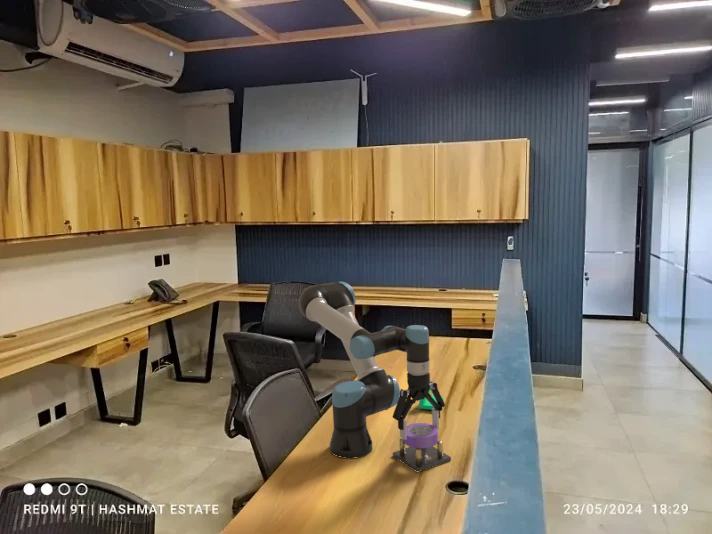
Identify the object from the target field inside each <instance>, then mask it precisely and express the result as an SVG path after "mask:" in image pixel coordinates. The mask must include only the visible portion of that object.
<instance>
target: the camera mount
mask: <svg viewBox="0 0 712 534" xmlns="http://www.w3.org/2000/svg"><path fill="white" fill-rule="evenodd" d="M428 393H429V394H430V395H431V393H432V391H431V389H430V390H429V392H428ZM431 397H432V398H433V399H434V400H435V401H436V399H435V397H434V395H433V394H432V395H431ZM441 397H442V399H443V400H444V396H442V395H441ZM436 402H437V401H436ZM418 403H419V404H418V406H419V407H418V408H419V409H421V410H431V411H432V409H433V408H434V407H433V406H432V405H431V403H430V402H429V401H428V400H427V399H426V398H425V399H421V400H419V402H418ZM434 409H435V408H434Z"/></svg>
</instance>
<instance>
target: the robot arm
mask: <svg viewBox="0 0 712 534" xmlns="http://www.w3.org/2000/svg"><path fill="white" fill-rule="evenodd" d="M356 300H357V299H356V294H355V290H354V289H353V287H352V286H351V285H350V284H349V283H347V282H345V281H332V282H329V283H328V282H327V283H322V284H321V283H320V284H314V285H310V286H308V287H306V288H305V289H303V291H302V292H301V294H300V295H299V298H298V308H299V311H300V312H301V314H302V316H304V318H306V319H307V320H309V321H310V322H316V323H317V324H319V325H321V327H323V328H325V329H326V330H328V331H329V332H330V333H331V334H333V335H334V336H336V337H337V338H338V339H340V340H341V342H342V345H343V347H344V349H345V351H346V354H347V356H348V359H349V360H350V363H351V364H352V366H353V369H354V371H355V373H356V375H357V379H356V380H347V381H343V382H341V383H339V384H337V385H336V386H335V387H334V388H333V390H332V395H331V405H332V417H333V418H332V420H333V421H332V423H333V431H332V435H331V438H330V441H329V451H331V452H332V453H333V454H335V455H337V456H341V457H346V458H345V459H354V458H353V457H358V458H362V457H364V456H366V455H368V454H371V452H372V450H373V440H372V437H371V435H370V433H369V429H368V427H367V417H369V416H372V415H375V414H378V413H380V412H383V411H388V410H389V409H391V408H394V407H395V408H394V411H393V414H392V418H393V419H394V420H396V421H397V425H398V426H397V429H398V430H399V436H400V439H401V438H403V439H404V440H406V439H407V429H406V426H407V420H406V417H407V415H408V414H409V412H410V410H411V409H412V406H413V405H414V404H416V402H418V401H419V402H420V400H421V399H425V398H426V399H427V400H428V401H429V402H430V403H431V405H432V406H433V407H434V408H435V409H434V408H433V409H432V410H431V418H432V419H431V420H432V422H431V423H432V424H431V425H433V426H435V427H436V428H437V430H440V419H441V412H442V411H443V408H445V407H446V403H445V401H444V398H443V399H442V397H443V396H442V395H441V393H440V391H439V388H438V384H437V383H436V382H435V381H432V380H431V373H430V370H431V367H430V363H431V362H430V335H429V334H430V333H429V331H430V330H429V328H428V327H427V326H425V325H422V324H421V325H420V324H419V325H418V324H414V325H413V324H412V325H408V326H407V327H406V328H402V327H398V326H396V325H386V326H384V327H383V328H382V329H381V330H380V331H376V332H369V331H368V330H367V329H365V328H364V327H362V326H360V325H359V322H358V320H357V319H356V316H355V313H354V311H355V305H356ZM394 351H400V352H404V353H406V373H407V374H406V377H407V379H406V381H407V385H408V386H407V389H404V388H401V389H400V385H399V382H398V380H397V378H396V377H395V376H393V375H391V374H387V372H386V370H385V369H384V368H383V367H380V366H379V365H378V362H377V361H376V359H375V357H377V356H380V355H382V354H383V355H384V354H387V353H391V352H394ZM430 389H431V393H430V394H429V393H428V392H429V390H430ZM431 394H432V395H433V396H434V397H435V399H436V401H437V402H436V401H435V400H434V399H433V398H432V397H431ZM441 396H442V397H441ZM331 452H330V453H331ZM332 453H331V454H332ZM333 454H332V455H333ZM337 456H336V457H337ZM361 456H362V457H361Z"/></svg>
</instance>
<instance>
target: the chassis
mask: <svg viewBox="0 0 712 534" xmlns="http://www.w3.org/2000/svg"><path fill="white" fill-rule="evenodd" d="M443 444H444V443H443V441H442V440H438V443H437V444H436V447H434V446H432V447H429V448H413V447H409V446H407V447H406V444H405V443H404V441H403V438H401V437H400V438H399V450H396V451H393V452H392V457H394V458H395V459H397V460H398V459H399V460H401V461H402V462H404V463H405V464H407V465H408V466H409V467H408V466H407V465H406V466H407V467H408V468H410V467H411V468H413V469H414V470H416V471H420V470H423V469H426V468H429V467H431V468H433V467H432V466H434V467H436V466H435V465H437V466H439V465H438V464H440V463H442V464H445V463H448V462H450V460H451V461H452V456H450V455H449V454H447V453H445V452H444V449H443V448H444V447H443V446H444V445H443ZM399 460H398V461H399ZM401 461H400V462H401ZM447 461H448V462H447ZM402 462H401V463H402ZM444 462H445V463H444ZM404 463H403V464H404ZM405 464H404V465H405ZM440 465H441V464H440ZM411 468H410V469H411ZM413 469H412V470H413ZM429 469H430V468H429ZM414 470H413V471H414ZM426 470H427V469H426ZM416 471H415V472H416ZM423 471H424V470H423ZM420 472H421V471H420Z"/></svg>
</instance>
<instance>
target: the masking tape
mask: <svg viewBox="0 0 712 534" xmlns="http://www.w3.org/2000/svg"><path fill="white" fill-rule="evenodd" d="M406 429H407V439H406V440H404V439H403V441H404V443H405V446H407V447H413V448H429V447H432V446H433V447H434V446H437V443H438V441H439V431H438V430H439V429H438V430H437V428H436V427H435V426H433V425H432V424H430V423H427V422H425V423H424V422H415V423H410V424H406Z"/></svg>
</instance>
